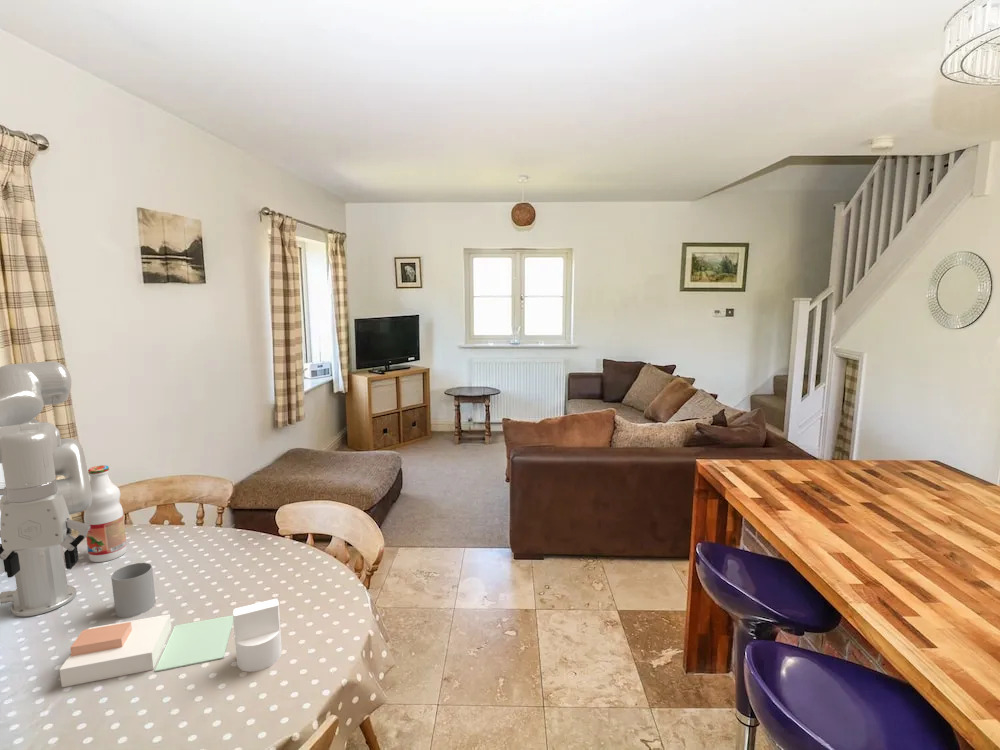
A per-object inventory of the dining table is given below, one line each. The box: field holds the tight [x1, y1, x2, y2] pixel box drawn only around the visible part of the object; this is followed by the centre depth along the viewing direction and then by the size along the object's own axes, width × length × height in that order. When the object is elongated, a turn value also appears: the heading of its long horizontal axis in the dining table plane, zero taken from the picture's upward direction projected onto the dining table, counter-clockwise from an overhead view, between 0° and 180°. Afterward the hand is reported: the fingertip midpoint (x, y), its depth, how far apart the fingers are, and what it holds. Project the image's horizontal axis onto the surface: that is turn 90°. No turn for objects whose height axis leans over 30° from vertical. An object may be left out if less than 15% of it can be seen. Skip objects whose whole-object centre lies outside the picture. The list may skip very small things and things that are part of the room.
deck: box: [59, 613, 173, 688], centre depth 113 cm, size 16×14×4 cm
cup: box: [110, 562, 157, 619], centre depth 130 cm, size 8×8×10 cm
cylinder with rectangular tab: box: [232, 598, 283, 673], centre depth 112 cm, size 9×9×12 cm
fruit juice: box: [83, 465, 128, 563], centre depth 155 cm, size 9×9×28 cm
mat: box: [154, 614, 234, 673], centre depth 118 cm, size 13×16×1 cm
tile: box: [70, 622, 132, 656], centre depth 111 cm, size 9×6×2 cm, turn 109°
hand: (43, 570), depth 106 cm, fingers open, 9 cm apart
